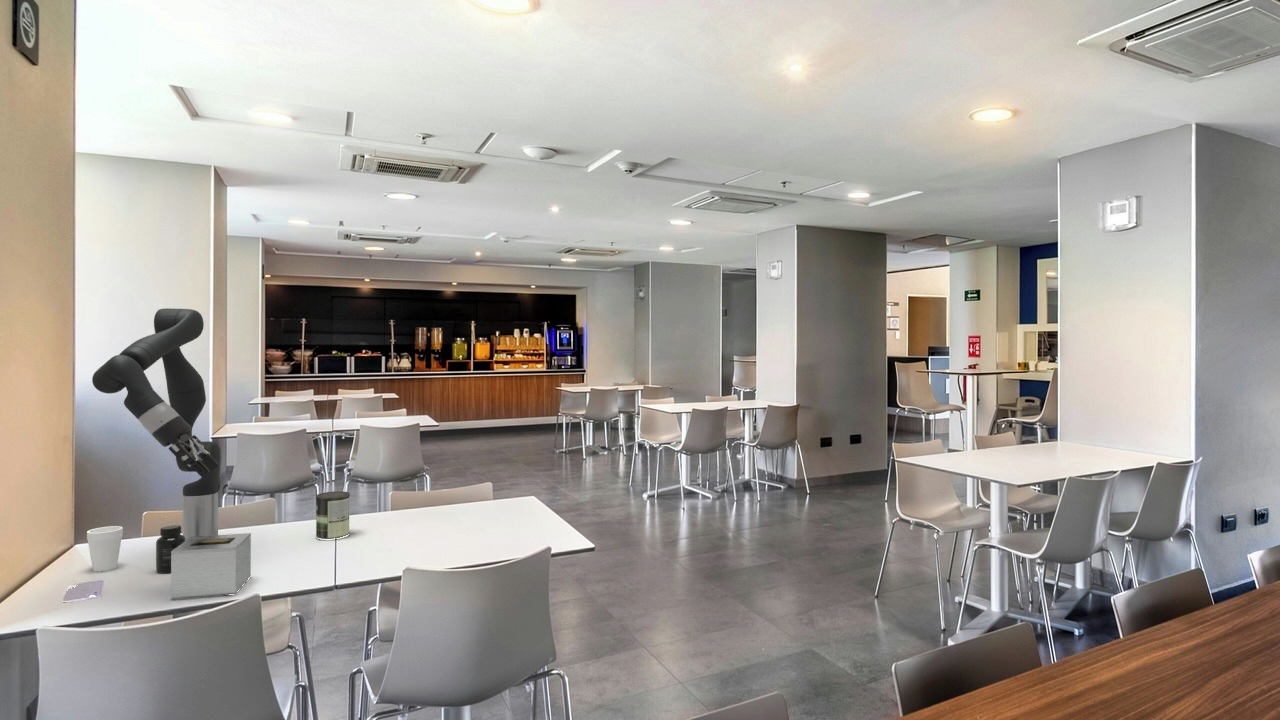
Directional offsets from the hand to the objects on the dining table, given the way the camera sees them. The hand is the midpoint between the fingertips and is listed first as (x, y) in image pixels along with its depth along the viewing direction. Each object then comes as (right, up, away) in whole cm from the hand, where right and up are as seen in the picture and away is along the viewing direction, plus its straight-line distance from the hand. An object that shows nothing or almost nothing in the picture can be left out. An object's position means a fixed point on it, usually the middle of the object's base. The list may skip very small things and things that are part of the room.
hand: (211, 471), depth 176 cm
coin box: (+1, -30, -2) cm, 30 cm away
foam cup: (-38, -30, +14) cm, 51 cm away
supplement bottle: (-20, -30, +13) cm, 38 cm away
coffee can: (+10, -30, +49) cm, 58 cm away
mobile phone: (-29, -30, -5) cm, 42 cm away
